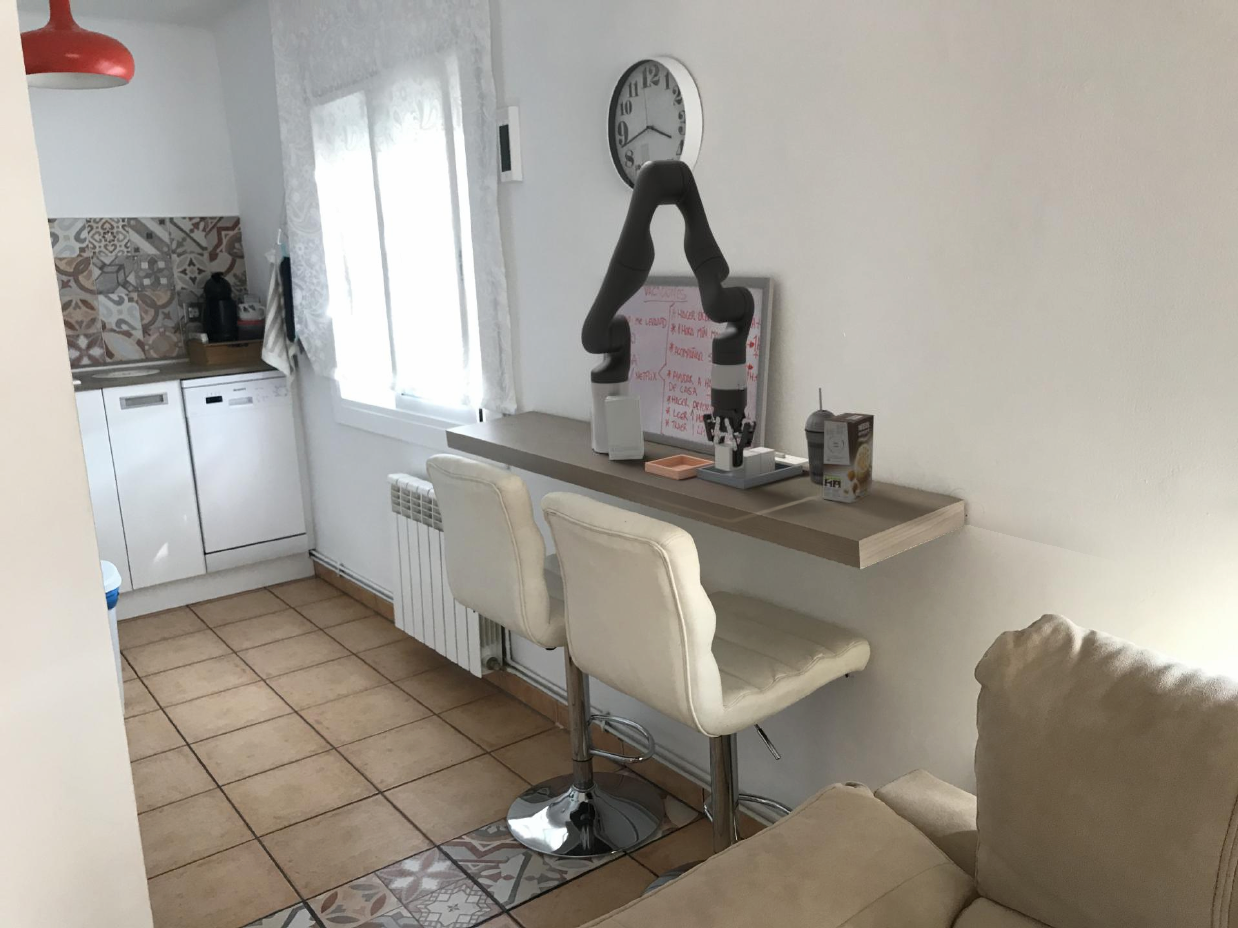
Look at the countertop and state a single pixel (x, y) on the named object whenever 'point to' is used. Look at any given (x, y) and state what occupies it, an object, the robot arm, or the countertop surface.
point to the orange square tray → (677, 466)
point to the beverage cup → (816, 441)
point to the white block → (724, 457)
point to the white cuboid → (748, 465)
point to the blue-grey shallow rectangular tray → (783, 469)
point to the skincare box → (624, 427)
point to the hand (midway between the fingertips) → (729, 464)
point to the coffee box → (848, 457)
